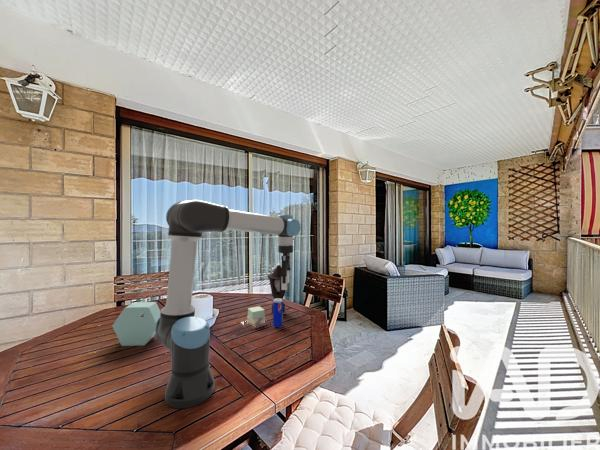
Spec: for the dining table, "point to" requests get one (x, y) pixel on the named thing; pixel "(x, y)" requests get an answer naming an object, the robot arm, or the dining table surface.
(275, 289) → the lantern
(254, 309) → the block top
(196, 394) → the robot arm
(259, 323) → the block bottom
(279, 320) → the beverage can
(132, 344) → the mint green hexagonal block
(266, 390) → the dining table surface
